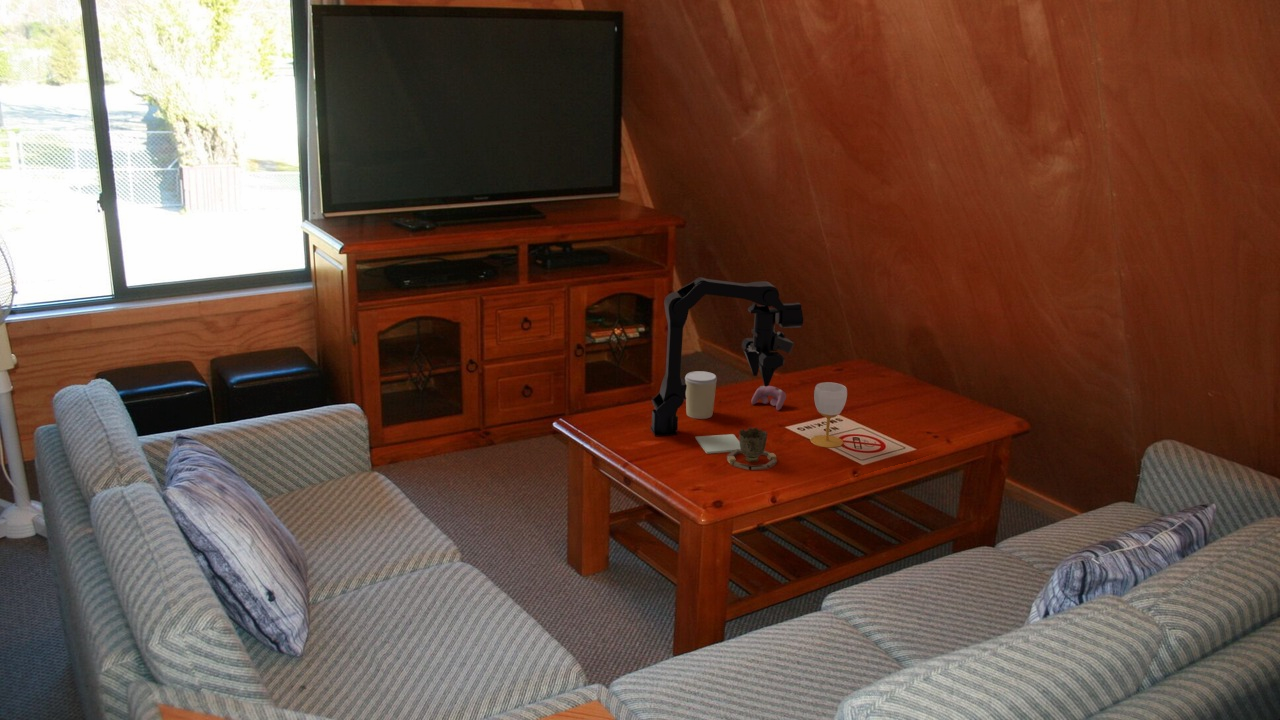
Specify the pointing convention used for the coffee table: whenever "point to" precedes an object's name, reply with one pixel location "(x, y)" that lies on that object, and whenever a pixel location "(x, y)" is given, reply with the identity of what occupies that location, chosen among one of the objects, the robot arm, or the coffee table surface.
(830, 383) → the cup
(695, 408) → the coffee cup
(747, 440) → the cup
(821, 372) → the coffee table surface
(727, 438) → the felt pad
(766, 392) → the video game controller
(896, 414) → the coffee table surface
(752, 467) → the ring
